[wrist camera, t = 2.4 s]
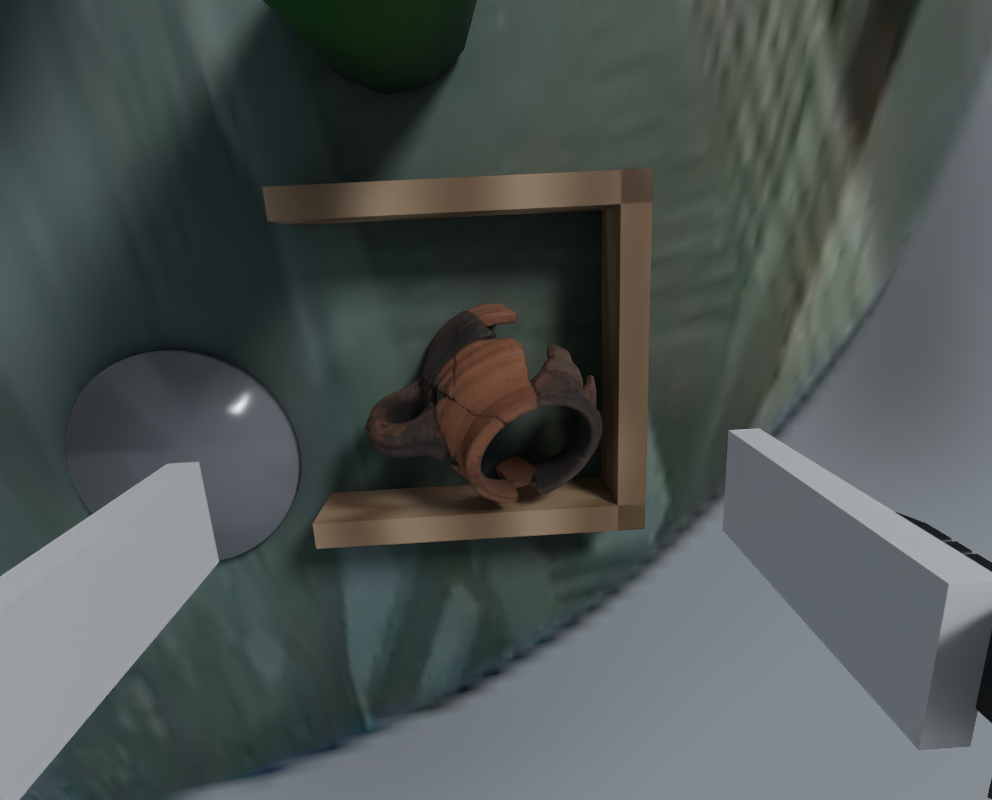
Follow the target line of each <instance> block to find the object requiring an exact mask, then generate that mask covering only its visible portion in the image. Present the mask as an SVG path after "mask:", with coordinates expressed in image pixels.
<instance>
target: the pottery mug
mask: <svg viewBox="0 0 992 800" xmlns="http://www.w3.org/2000/svg"><path fill="white" fill-rule="evenodd" d="M516 318H517V317H516V314H515V312H514V311H512V310H510V309H509V308H507V307H506V306H505V305H503V304H500V303H497V304H495V303H492V304H485V305H480V306H477V307H474V308H471V309H469V310H467V311H463V312H461V313H460V314H458V315H456V316H455V317H454V318H452V319H450V320H449V321H448V322H447V323H446V324H445V325H444V326H443V327H442V328H441V329H440V330H439V331H438V332H437V334H436V335H435V336H434V338H433V340H432V342H431V344H430V347H429V350H428V353H427V357H426V362H425V365H424V369H423V372H422V374H421V378H419V379H417V380H416V381H415V382H414V383H413V384H411V385H410V386H408V387H406V388H404V389H403V390H400V391H398V392H394V393H393V394H390V395H388V396H387V397H385V398H383V399H382V400H380V401H379V402H378V403H377V404H376V405H375V406H374V407H373V409H372V411H371V413H370V416H369V419H368V421H367V424H366V426H365V430H366V433H367V435H368V437H369V438H371V439H372V441H373V445H374V447H375V448H376V449H377V450H379V451H380V452H381V453H383V454H385V455H387V456H389V457H392V458H398V459H408V458H413V457H418V456H432V457H435V458H437V459H439V460H446V459H447V458H448V456H449V453H450V454H451V456H452V458H453V459H455V460H456V461H454V462H453V463H452V464H451V466H452V467H453V469H454V470H455V471H457V472H458V473H459V474H460V475H462V476H463V477H465V478H466V479H467V480H468V481H469V484H470V485H471V486H472V488H473V489H474V490H475V491H476V492H477V493H478V494H479V495H481V496H482V497H485V498H487V499H489V500H493V501H496V502H506V503H507V502H515V501H516V500H517V498H518V492H517V490H516V488H519V487H523V486H526V485H528V484H531V483H533V482H535V483H536V486H537V491H538V492H539V493H543V494H547V493H550V492H552V491H554V490H555V489H558V488H559V487H561V486H562V485H564V484H565V483H566V482H568V481H569V480H571V479H572V478H573V477H574V476H575V475H576V474H578V473H579V471H581V470H582V468H583V467H584V466H585V465H586V463H587V462H588V461H589V459H590V457H591V456H592V455H593V453H594V452H595V450H596V448H597V447H598V443H599V440H600V437H601V435H602V420H601V416H600V412H599V411H598V410H597V409H596V386H595V381H594V377H593V376H592V375H589V376H588V377H587V378H586V384H585V386H584V387H583V380H582V377H581V374H580V371H579V369H578V368H577V366H576V365H575V364H574V363H573V362H572V359H571V356H570V354H569V352H568V351H567V350H565V349H563V348H561V347H559V346H557V345H549V346H548V349H547V354H548V360H547V361H546V362H545V364H544V366H543V367H542V369H541V371H540V372H539V373H538V374H537V375H536V376H535V377H534V378H533V380H532V381H530V379H529V373H528V368H527V365H526V359H525V354H524V348H523V346H522V345H521V344H519V343H518V342H517V341H516V340H513V339H512V338H500V339H497V338H496V334H495V333H493V332H492V331H491V330H490V329H488V328H487V327H488V326H492V325H497V324H505V323H514V322H515V321H516ZM436 389H437V390H439V391H440V392H441V393H442V394H444V396H443V398H441V399H440V400H439V401H438V402H437V392H436ZM549 406H566V407H569V408H572V409H575V410H577V411H578V412H579V413H581V414H582V418H583V425H582V427H581V428H580V429H579V430H578V431H577V433H576V434H575V435H574V437H573V438H572V440H571V441H570V442H569V443H568V444H567V446H565V448H564V449H563V450H562V451H560V452H559V453H557V454H556V455H554V456H552V457H550V458H548V459H545V460H543V461H541V462H538V463H535V464H533V465H531V464H529V463H528V462H527V461H525V460H523V459H522V458H520V457H518V456H514V457H511V458H509V459H507V460H505V461H503V462H502V463H500V464H499V465H497V467H496V471H497V474H498V476H500V477H502V478H503V480H495V479H490V478H487V477H485V476H484V475H483V473H482V470H481V460H482V457H483V454H484V452H485V450H486V448H487V446H488V445H489V443H490V442H491V440H492V439H493V438H494V436H495V435H496V434H497V433H498V432H499V431H500V430H501V429H502V428H503V427H504V426H505V425H506V424H508V423H510V422H511V421H513V420H514V419H516V418H518V417H520V416H522V415H524V414H526V413H528V412H530V411H533V410H535V409H537V408H539V407H549ZM410 420H411V421H410ZM406 421H408V422H406Z"/></svg>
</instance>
